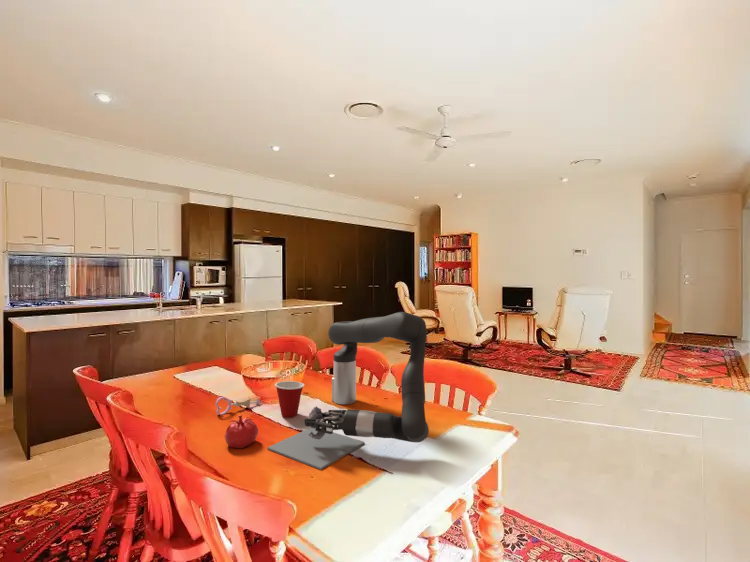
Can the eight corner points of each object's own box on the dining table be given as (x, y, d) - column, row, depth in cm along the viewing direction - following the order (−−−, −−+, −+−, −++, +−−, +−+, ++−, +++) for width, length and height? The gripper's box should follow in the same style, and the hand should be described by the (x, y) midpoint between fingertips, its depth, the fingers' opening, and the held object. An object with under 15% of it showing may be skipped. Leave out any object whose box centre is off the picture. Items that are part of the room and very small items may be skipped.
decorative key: (262, 411, 163) (215, 415, 149) (261, 410, 164) (213, 415, 150) (264, 394, 163) (217, 397, 149) (263, 393, 164) (216, 396, 150)
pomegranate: (264, 440, 128) (264, 412, 128) (242, 453, 119) (242, 422, 119) (240, 435, 132) (240, 407, 132) (217, 447, 123) (217, 417, 123)
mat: (267, 449, 121) (267, 447, 121) (313, 427, 138) (313, 426, 138) (320, 469, 109) (320, 467, 109) (364, 443, 125) (364, 441, 125)
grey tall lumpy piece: (306, 442, 120) (306, 409, 120) (310, 435, 126) (309, 403, 126) (324, 442, 120) (323, 409, 120) (327, 435, 126) (326, 403, 126)
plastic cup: (309, 416, 148) (308, 384, 148) (280, 422, 143) (280, 389, 142) (298, 408, 158) (298, 378, 157) (271, 413, 152) (271, 382, 152)
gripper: (367, 403, 126) (317, 399, 130) (353, 419, 112) (298, 414, 117) (367, 426, 126) (318, 422, 131) (353, 445, 112) (298, 440, 117)
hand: (309, 418), depth 124 cm, fingers closed on grey tall lumpy piece, 5 cm apart
